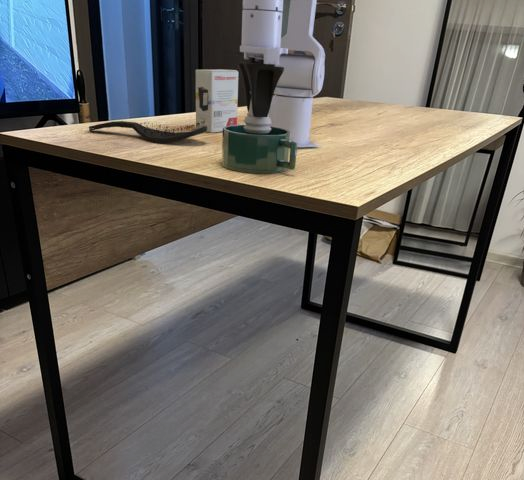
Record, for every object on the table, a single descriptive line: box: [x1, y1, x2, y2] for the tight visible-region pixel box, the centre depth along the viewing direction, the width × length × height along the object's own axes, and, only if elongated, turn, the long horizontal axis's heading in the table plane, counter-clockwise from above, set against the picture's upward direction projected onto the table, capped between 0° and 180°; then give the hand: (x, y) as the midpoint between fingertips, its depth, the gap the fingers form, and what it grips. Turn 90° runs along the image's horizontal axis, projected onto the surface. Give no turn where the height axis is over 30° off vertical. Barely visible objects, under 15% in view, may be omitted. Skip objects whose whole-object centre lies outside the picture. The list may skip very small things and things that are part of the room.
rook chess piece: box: [243, 91, 271, 133], centre depth 82 cm, size 4×4×8 cm
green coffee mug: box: [221, 124, 298, 174], centre depth 84 cm, size 14×11×6 cm
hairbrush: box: [88, 120, 207, 144], centre depth 103 cm, size 8×4×25 cm
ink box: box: [195, 69, 239, 134], centre depth 114 cm, size 9×5×12 cm, turn 141°
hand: (257, 115), depth 83 cm, fingers closed on rook chess piece, 3 cm apart
